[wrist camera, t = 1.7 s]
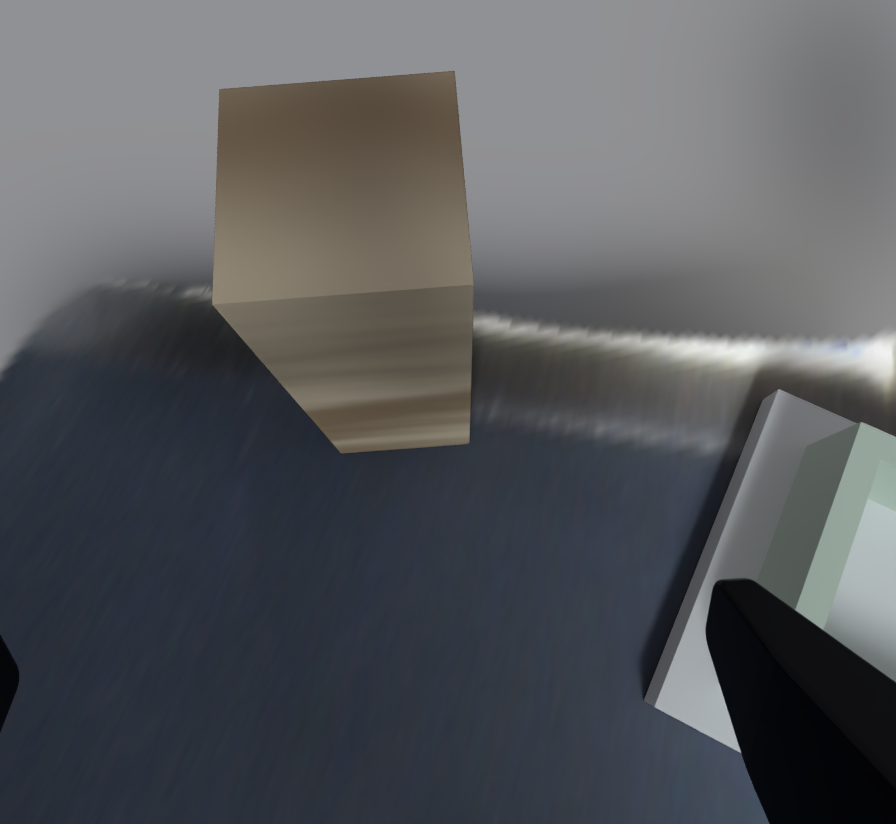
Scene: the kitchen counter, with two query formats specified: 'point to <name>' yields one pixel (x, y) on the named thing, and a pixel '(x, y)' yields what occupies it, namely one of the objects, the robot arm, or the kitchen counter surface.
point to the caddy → (793, 548)
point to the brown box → (351, 252)
